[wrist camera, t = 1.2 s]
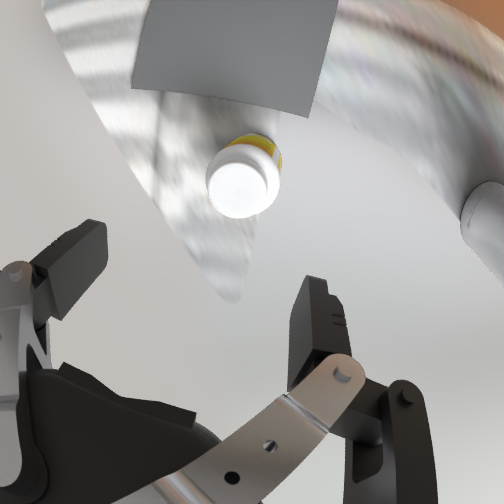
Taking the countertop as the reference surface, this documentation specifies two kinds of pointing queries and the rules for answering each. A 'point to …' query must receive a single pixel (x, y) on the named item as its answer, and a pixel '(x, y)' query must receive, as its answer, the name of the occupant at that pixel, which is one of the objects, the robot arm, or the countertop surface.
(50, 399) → the robot arm
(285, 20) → the mat
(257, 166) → the supplement bottle
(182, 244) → the countertop surface
